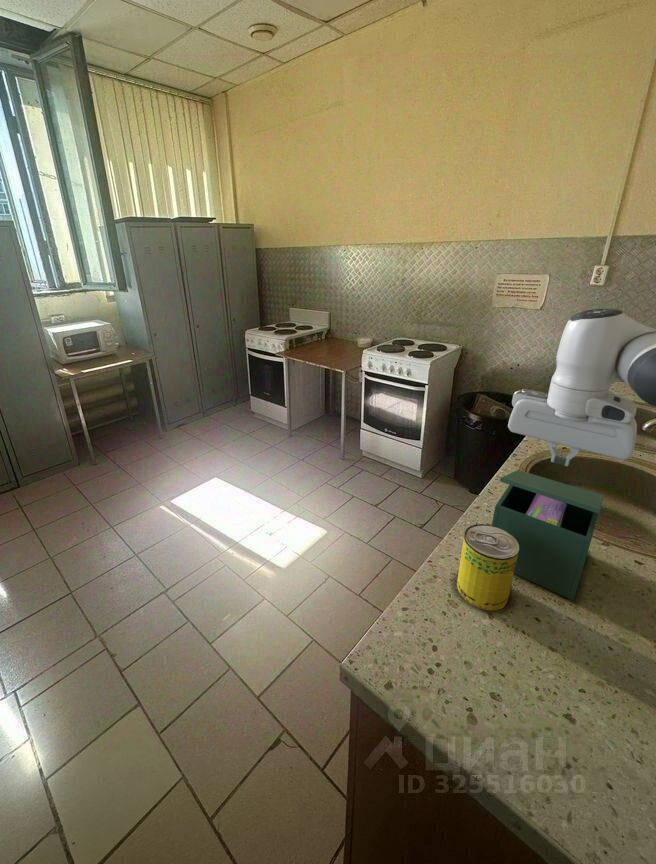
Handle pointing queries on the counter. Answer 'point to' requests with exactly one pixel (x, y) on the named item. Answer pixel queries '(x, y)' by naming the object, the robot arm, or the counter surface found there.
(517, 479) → the lid
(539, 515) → the box
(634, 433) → the robot arm
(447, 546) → the counter surface
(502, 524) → the chest
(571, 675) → the counter surface
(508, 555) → the yellow tin can
